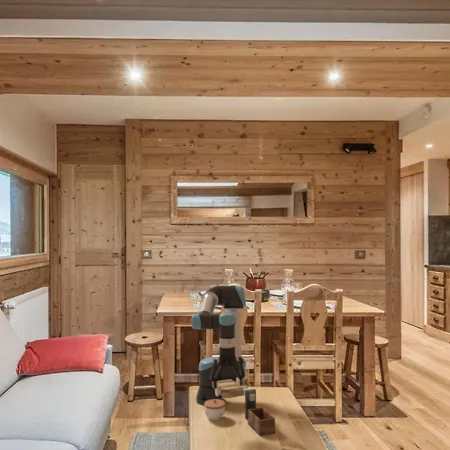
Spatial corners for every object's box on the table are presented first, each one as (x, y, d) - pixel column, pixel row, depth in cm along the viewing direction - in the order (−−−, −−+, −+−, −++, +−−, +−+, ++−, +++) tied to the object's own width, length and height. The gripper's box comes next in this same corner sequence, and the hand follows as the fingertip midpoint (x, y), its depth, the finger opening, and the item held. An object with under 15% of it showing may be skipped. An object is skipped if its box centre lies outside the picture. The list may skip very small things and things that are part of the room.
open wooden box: (247, 424, 217) (247, 409, 217) (262, 421, 219) (262, 407, 220) (259, 436, 203) (259, 420, 204) (275, 433, 206) (274, 418, 206)
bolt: (240, 394, 231) (239, 386, 232) (246, 393, 233) (246, 385, 233) (249, 402, 220) (249, 394, 220) (256, 401, 221) (256, 393, 222)
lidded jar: (222, 423, 217) (222, 404, 218) (202, 421, 220) (201, 403, 220) (227, 414, 228) (227, 396, 228) (207, 413, 230) (207, 395, 230)
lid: (212, 389, 212) (212, 381, 212) (231, 386, 216) (231, 379, 216) (223, 401, 197) (223, 392, 197) (244, 398, 201) (243, 389, 201)
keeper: (245, 418, 223) (245, 390, 224) (254, 416, 225) (254, 388, 225) (246, 420, 221) (246, 391, 222) (256, 418, 223) (255, 390, 223)
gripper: (207, 350, 200) (207, 399, 199) (252, 346, 207) (252, 393, 207) (202, 346, 207) (202, 394, 206) (246, 342, 214) (246, 388, 214)
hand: (227, 393), depth 206 cm, fingers closed on lid, 10 cm apart
